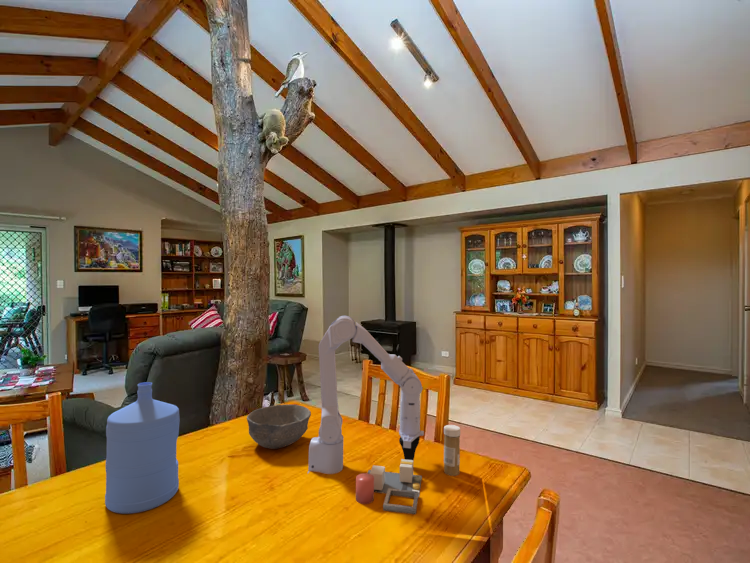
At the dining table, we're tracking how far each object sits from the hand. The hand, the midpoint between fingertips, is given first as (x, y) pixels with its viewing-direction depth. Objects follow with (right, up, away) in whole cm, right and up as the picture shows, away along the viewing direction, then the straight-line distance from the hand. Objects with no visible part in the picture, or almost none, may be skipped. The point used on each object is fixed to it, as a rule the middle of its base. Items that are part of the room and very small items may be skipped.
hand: (409, 462), depth 113 cm
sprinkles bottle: (+12, -2, -3) cm, 12 cm away
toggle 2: (-1, -1, -7) cm, 8 cm away
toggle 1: (-9, -1, -11) cm, 15 cm away
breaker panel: (-5, -2, -9) cm, 11 cm away
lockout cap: (-12, -2, -17) cm, 21 cm away
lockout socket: (-4, -2, -19) cm, 19 cm away
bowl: (-42, -2, +17) cm, 45 cm away
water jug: (-67, -1, -16) cm, 69 cm away
